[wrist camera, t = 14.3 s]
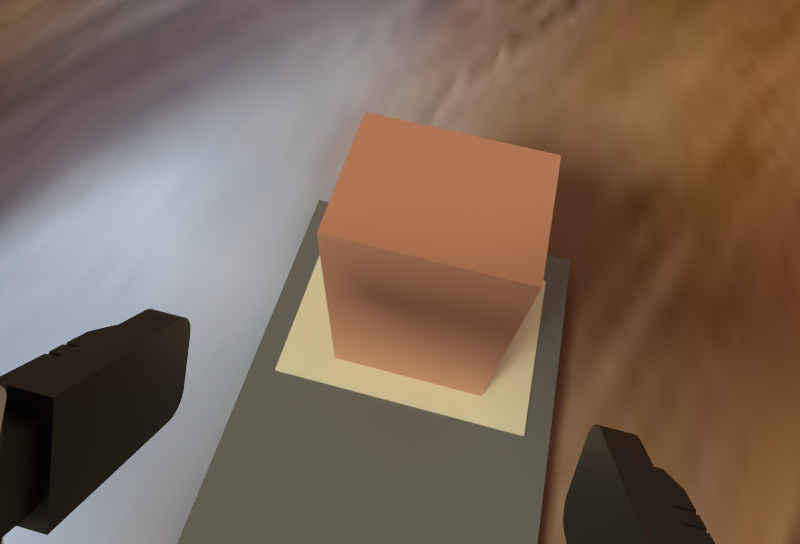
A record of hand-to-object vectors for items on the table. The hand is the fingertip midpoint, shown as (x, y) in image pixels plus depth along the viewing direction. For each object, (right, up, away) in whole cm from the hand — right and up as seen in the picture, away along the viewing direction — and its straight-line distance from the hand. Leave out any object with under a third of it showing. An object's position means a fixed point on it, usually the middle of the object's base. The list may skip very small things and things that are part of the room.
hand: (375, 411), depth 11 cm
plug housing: (+1, 0, +12) cm, 13 cm away
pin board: (0, -5, +11) cm, 12 cm away
